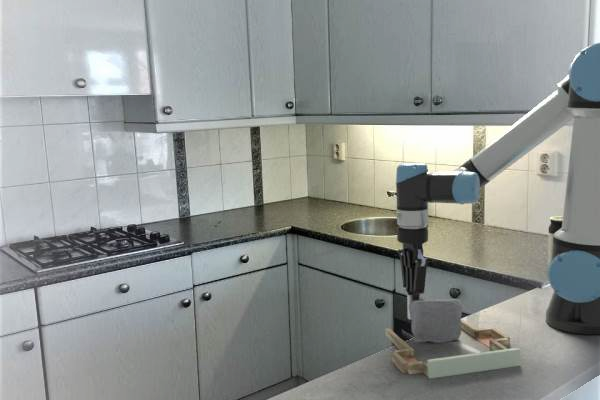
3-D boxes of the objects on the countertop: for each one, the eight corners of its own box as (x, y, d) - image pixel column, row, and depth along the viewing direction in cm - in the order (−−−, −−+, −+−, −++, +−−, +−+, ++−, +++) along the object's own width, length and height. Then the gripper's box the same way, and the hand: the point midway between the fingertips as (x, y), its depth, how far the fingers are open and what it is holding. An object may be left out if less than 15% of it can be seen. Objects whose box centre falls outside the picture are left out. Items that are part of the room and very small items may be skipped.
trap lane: (477, 325, 144) (477, 311, 143) (537, 363, 120) (537, 347, 120) (369, 338, 138) (369, 324, 137) (411, 381, 114) (410, 364, 114)
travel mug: (572, 276, 184) (574, 220, 181) (545, 274, 188) (546, 219, 186) (576, 270, 190) (577, 216, 188) (550, 268, 195) (551, 215, 192)
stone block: (458, 336, 137) (457, 294, 136) (464, 343, 133) (464, 300, 131) (408, 338, 137) (407, 297, 136) (412, 346, 132) (412, 303, 131)
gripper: (388, 223, 149) (390, 312, 152) (408, 231, 137) (410, 328, 140) (415, 220, 151) (416, 309, 154) (438, 229, 138) (439, 325, 141)
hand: (413, 318), depth 147 cm, fingers closed
